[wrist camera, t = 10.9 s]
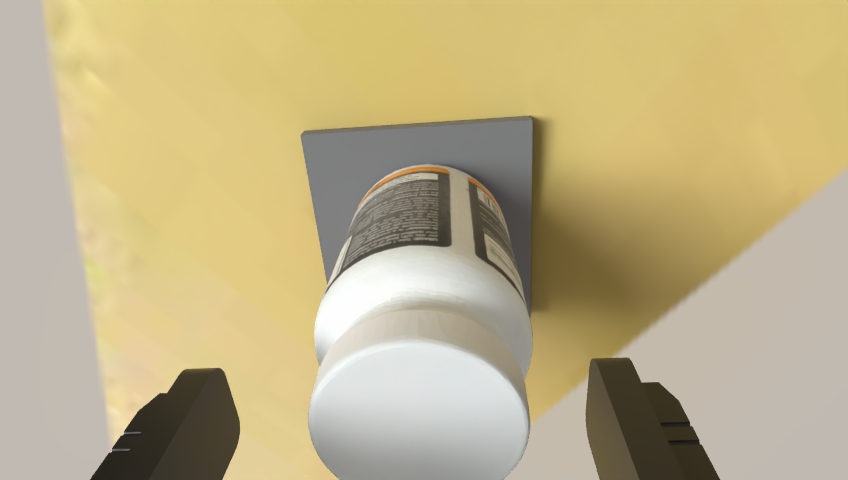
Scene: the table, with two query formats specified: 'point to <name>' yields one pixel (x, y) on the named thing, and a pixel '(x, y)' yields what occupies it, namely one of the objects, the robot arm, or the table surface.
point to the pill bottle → (423, 337)
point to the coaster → (417, 145)
